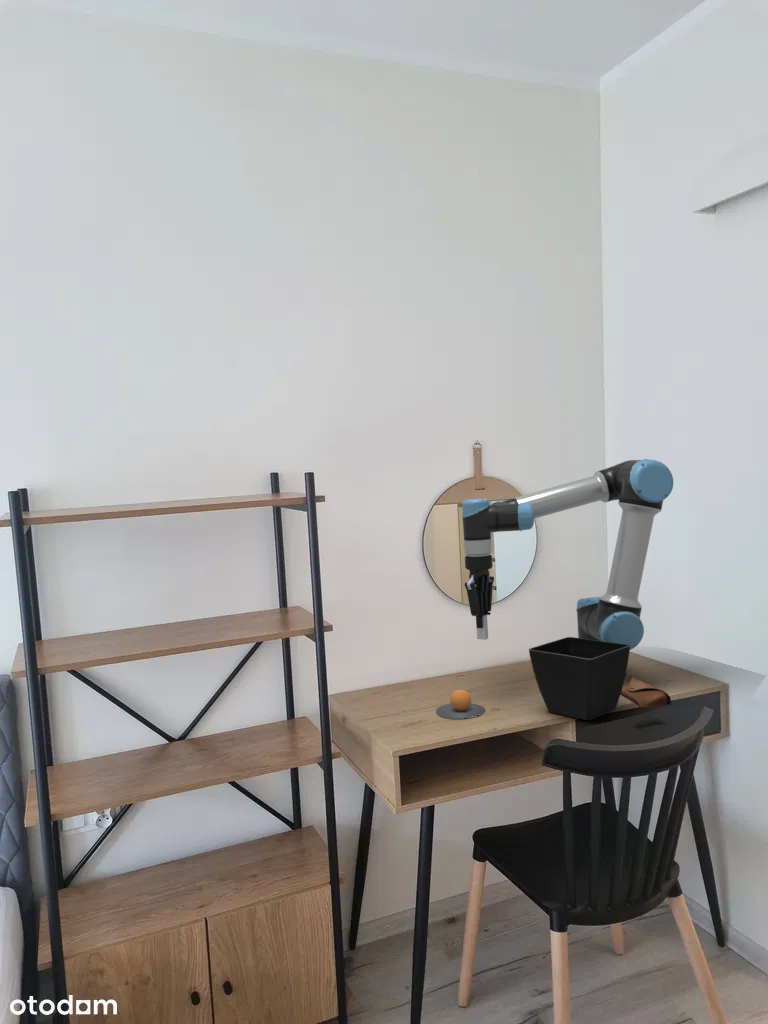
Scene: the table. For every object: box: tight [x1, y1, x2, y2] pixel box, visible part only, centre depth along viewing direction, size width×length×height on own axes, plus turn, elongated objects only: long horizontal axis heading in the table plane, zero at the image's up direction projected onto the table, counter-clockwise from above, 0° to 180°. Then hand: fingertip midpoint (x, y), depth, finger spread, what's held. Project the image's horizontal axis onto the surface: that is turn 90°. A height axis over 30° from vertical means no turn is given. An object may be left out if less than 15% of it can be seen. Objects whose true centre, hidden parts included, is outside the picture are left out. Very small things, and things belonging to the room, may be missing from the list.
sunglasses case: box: [620, 675, 672, 709], centre depth 205 cm, size 18×7×7 cm
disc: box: [435, 702, 486, 720], centre depth 201 cm, size 13×13×1 cm
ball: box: [449, 689, 472, 711], centre depth 202 cm, size 6×6×6 cm
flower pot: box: [528, 636, 631, 721], centre depth 196 cm, size 19×19×17 cm
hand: (482, 638), depth 212 cm, fingers closed
